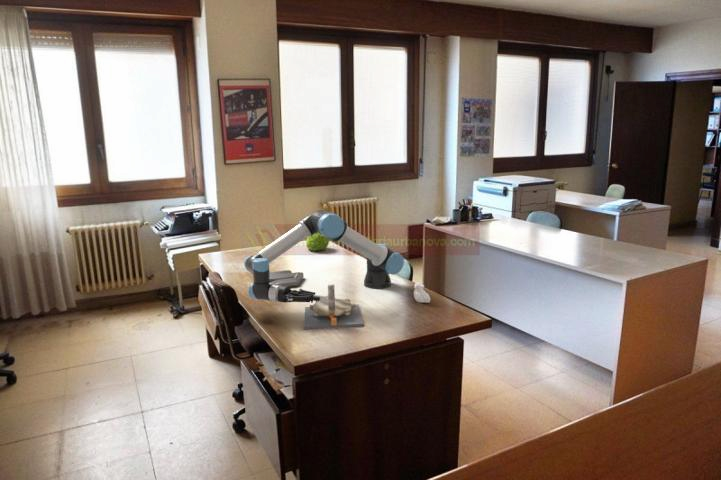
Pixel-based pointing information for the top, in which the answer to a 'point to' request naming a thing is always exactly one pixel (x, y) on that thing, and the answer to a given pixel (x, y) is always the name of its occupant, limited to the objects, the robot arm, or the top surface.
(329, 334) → the top surface
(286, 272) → the grey flat lobed piece
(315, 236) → the lettuce
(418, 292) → the duck figurine
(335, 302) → the white lobed piece
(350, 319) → the sprocket stand
